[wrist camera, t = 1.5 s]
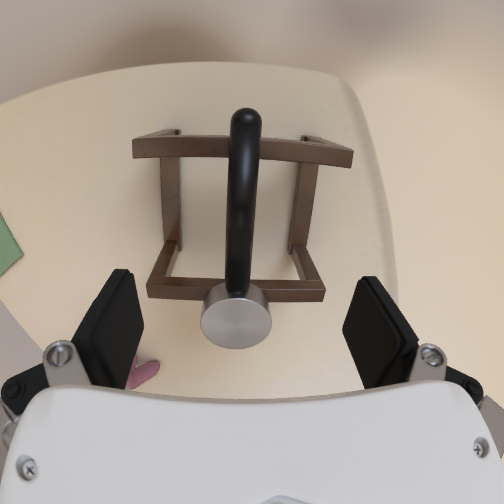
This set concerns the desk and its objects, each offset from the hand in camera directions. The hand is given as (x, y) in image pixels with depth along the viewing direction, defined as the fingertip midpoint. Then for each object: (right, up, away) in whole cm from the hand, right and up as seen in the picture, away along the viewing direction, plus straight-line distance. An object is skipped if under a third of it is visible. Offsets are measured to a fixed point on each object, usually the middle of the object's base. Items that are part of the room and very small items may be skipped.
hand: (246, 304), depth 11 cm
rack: (-1, +7, +13) cm, 15 cm away
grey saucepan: (-1, +3, +6) cm, 7 cm away
